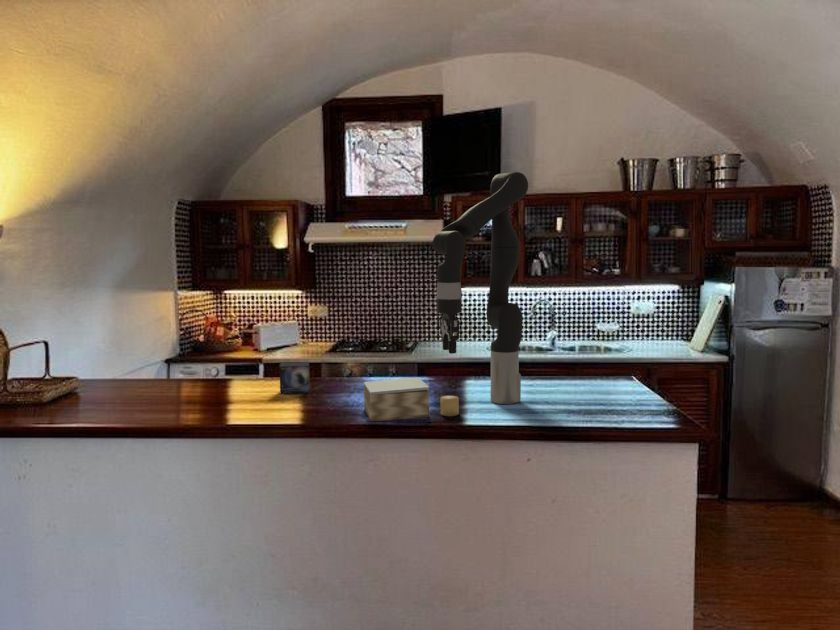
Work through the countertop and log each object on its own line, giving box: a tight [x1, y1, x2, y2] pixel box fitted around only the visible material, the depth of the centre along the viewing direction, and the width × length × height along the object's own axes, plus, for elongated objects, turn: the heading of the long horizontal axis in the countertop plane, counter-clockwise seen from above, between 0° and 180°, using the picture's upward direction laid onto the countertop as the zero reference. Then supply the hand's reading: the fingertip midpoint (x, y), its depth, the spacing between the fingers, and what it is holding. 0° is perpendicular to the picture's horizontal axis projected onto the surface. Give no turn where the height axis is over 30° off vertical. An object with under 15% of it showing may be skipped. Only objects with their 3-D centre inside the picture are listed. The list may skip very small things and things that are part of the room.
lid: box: [363, 376, 430, 395], centre depth 185 cm, size 18×14×1 cm
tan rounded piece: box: [440, 395, 460, 417], centre depth 184 cm, size 6×6×5 cm
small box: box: [279, 361, 311, 395], centre depth 214 cm, size 11×6×10 cm, turn 101°
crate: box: [363, 385, 430, 422], centre depth 185 cm, size 18×14×8 cm
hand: (449, 351), depth 182 cm, fingers open, 6 cm apart
